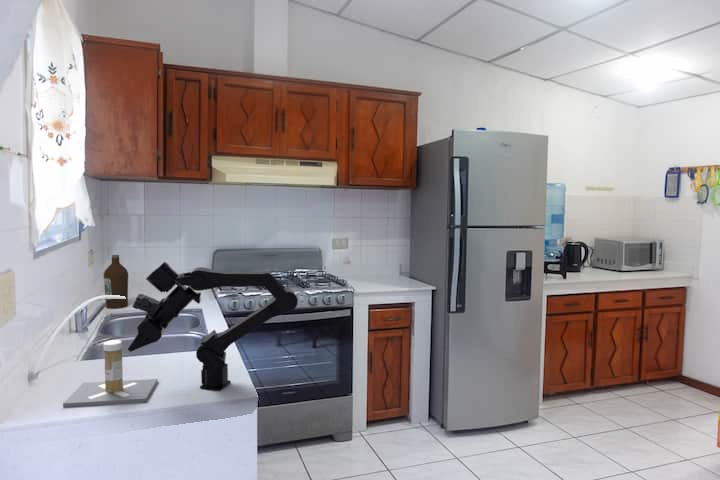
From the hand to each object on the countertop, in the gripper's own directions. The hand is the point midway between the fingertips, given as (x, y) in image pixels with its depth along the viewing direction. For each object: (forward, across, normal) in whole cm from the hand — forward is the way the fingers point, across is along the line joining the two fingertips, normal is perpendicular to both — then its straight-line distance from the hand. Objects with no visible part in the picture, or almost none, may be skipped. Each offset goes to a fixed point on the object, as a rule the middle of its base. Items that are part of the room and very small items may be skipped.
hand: (132, 345), depth 135 cm
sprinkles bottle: (+12, 0, +5) cm, 13 cm away
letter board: (+13, 0, +6) cm, 14 cm away
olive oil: (+29, -112, -10) cm, 117 cm away
